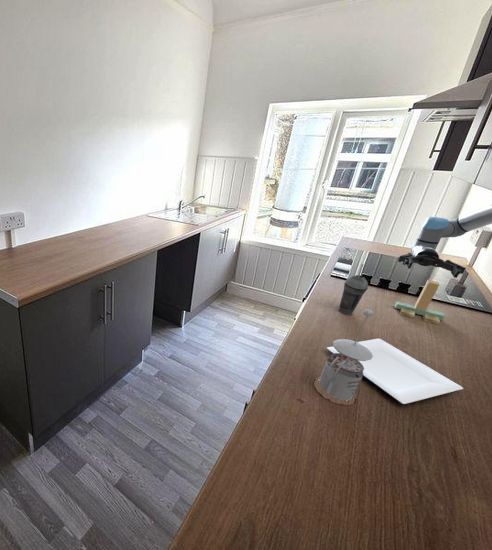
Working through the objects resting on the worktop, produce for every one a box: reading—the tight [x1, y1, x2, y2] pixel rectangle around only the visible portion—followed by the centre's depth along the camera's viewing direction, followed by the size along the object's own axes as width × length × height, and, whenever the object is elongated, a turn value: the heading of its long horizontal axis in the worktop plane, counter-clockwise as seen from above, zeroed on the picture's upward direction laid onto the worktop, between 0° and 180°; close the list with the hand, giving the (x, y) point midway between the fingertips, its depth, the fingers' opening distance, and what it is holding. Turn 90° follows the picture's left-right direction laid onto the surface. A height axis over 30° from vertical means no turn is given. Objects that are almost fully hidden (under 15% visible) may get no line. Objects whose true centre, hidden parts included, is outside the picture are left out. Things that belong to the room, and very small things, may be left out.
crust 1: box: [399, 308, 416, 319], centre depth 116 cm, size 4×4×2 cm
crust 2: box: [422, 314, 441, 326], centre depth 113 cm, size 4×4×2 cm
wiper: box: [394, 279, 446, 322], centre depth 115 cm, size 14×3×14 cm, turn 52°
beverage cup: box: [338, 263, 369, 316], centre depth 113 cm, size 7×7×20 cm
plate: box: [326, 338, 464, 405], centre depth 86 cm, size 22×22×2 cm
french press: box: [318, 309, 375, 401], centre depth 73 cm, size 10×12×25 cm
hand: (433, 269), depth 117 cm, fingers open, 13 cm apart
